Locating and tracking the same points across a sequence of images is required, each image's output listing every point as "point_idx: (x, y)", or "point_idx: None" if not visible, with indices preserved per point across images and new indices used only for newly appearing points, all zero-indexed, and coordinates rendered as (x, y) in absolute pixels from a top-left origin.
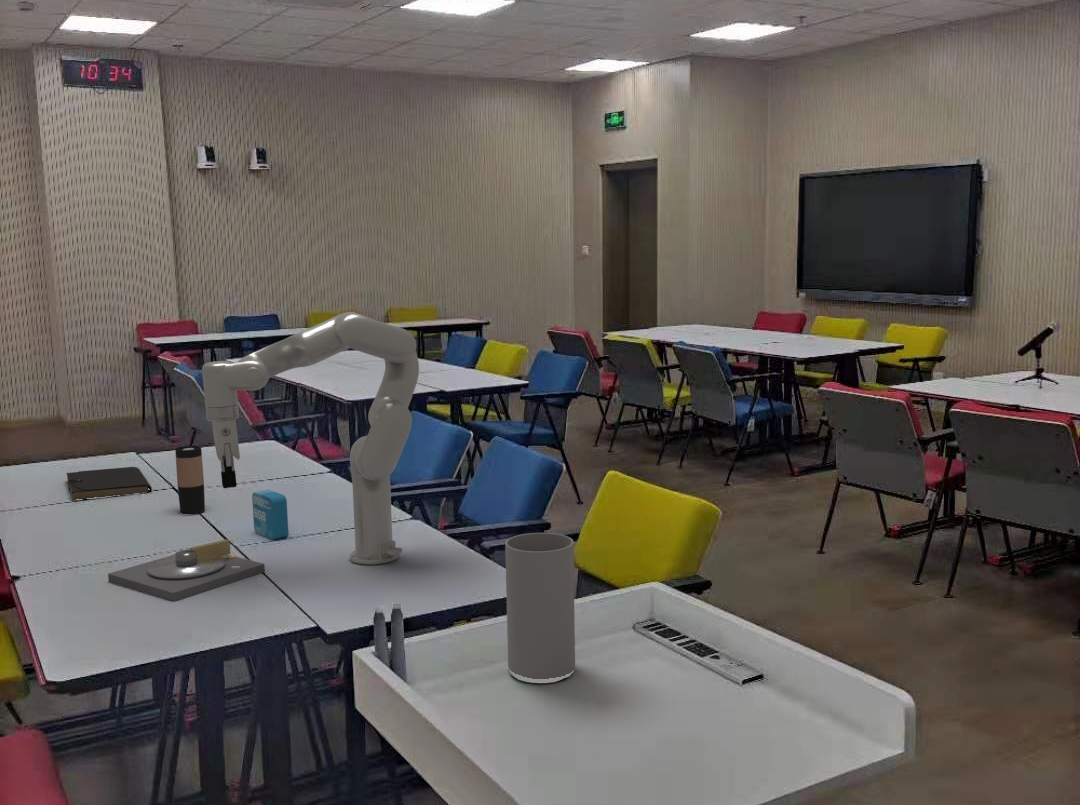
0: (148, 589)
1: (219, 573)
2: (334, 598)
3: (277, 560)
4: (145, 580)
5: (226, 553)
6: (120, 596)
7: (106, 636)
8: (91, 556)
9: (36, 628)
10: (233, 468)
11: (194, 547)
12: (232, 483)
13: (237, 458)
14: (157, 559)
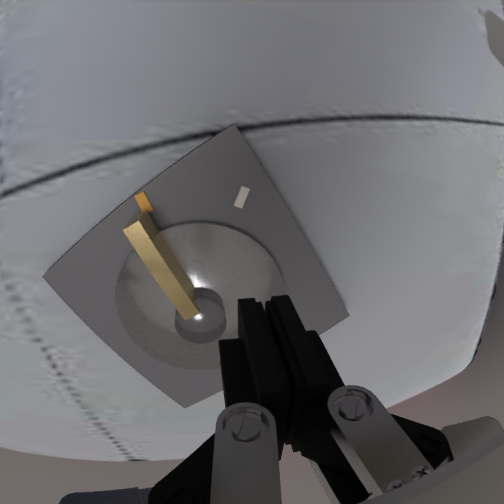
0: None
1: (269, 236)
2: (445, 58)
3: (145, 87)
4: None
5: (151, 220)
6: None
7: (414, 359)
8: (51, 408)
9: None
10: (379, 409)
11: (183, 310)
12: (314, 332)
13: (443, 466)
14: (113, 350)
